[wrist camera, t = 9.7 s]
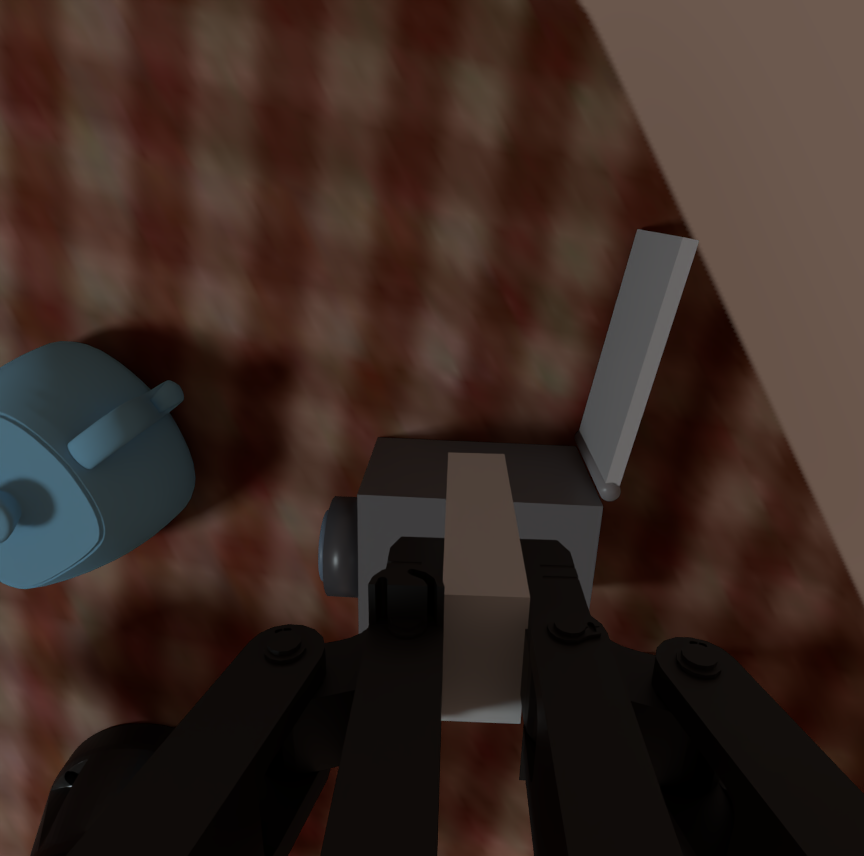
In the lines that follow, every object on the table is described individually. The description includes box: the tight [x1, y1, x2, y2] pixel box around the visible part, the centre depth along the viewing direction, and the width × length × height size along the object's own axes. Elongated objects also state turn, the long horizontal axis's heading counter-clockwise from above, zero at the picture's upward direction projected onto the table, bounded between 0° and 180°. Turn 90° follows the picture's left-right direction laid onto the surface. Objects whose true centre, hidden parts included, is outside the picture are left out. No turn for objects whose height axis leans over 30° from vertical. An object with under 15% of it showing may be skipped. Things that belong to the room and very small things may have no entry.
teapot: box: [0, 341, 196, 589], centre depth 35 cm, size 13×11×18 cm
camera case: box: [318, 437, 603, 634], centre depth 36 cm, size 14×10×9 cm
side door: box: [575, 229, 699, 501], centre depth 33 cm, size 12×2×8 cm, turn 169°
